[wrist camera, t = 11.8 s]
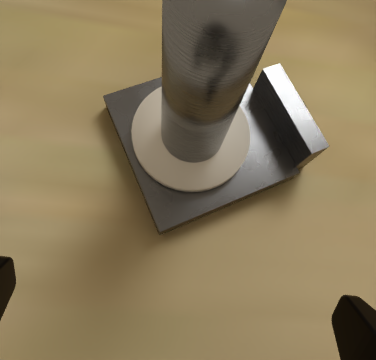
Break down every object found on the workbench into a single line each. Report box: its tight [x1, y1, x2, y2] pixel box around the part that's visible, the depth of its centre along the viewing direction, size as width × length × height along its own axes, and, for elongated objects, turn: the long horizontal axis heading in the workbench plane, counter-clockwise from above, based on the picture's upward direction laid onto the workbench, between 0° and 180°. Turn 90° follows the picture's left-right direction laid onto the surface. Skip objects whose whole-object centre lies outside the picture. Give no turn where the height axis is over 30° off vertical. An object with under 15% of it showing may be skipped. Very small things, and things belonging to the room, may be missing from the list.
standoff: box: [161, 0, 287, 163], centre depth 17 cm, size 4×4×12 cm
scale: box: [103, 63, 329, 235], centre depth 23 cm, size 11×13×4 cm
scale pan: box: [131, 86, 250, 192], centre depth 23 cm, size 8×8×1 cm
